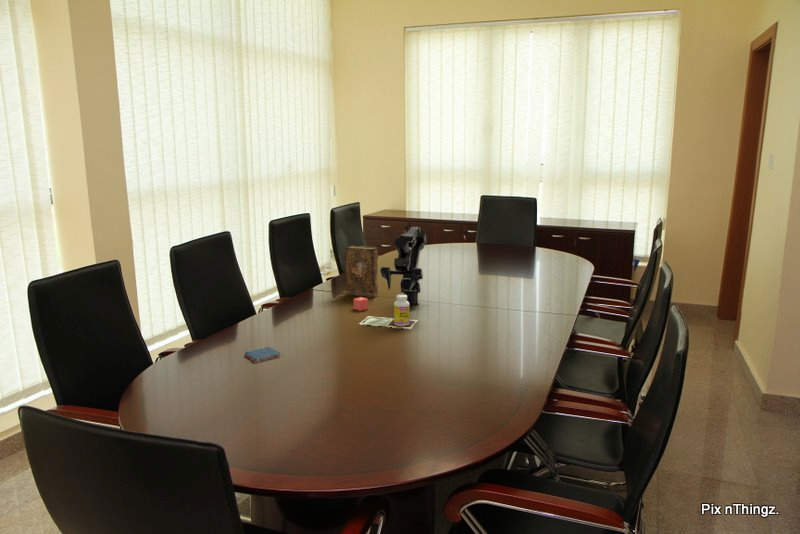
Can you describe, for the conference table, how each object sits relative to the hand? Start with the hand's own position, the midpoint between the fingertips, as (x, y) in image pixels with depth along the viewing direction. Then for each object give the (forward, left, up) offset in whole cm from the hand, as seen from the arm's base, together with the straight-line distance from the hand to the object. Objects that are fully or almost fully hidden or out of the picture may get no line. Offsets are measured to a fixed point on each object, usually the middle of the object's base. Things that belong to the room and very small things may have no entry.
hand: (399, 289), depth 270 cm
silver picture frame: (+7, +5, -13) cm, 16 cm away
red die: (+12, -21, -13) cm, 27 cm away
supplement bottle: (+2, +8, -14) cm, 16 cm away
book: (+4, -46, -14) cm, 48 cm away
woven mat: (+64, +27, -14) cm, 71 cm away
